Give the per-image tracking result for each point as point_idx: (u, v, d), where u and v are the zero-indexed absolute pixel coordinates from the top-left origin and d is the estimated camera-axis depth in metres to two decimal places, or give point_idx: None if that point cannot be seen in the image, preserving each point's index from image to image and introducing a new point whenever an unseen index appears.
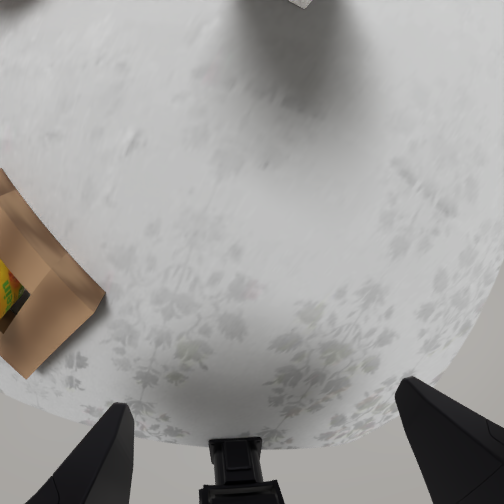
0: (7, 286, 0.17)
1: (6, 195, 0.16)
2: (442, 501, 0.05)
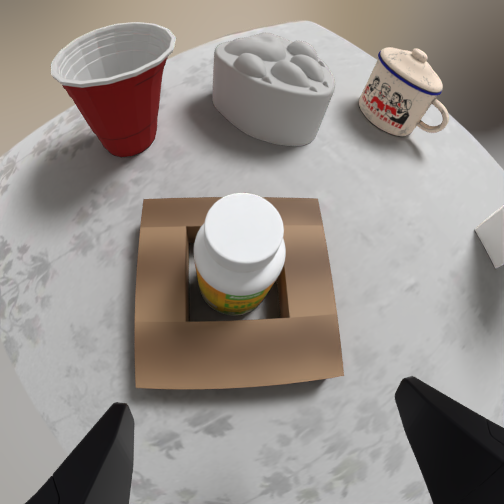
0: None
1: None
2: (442, 501, 0.05)
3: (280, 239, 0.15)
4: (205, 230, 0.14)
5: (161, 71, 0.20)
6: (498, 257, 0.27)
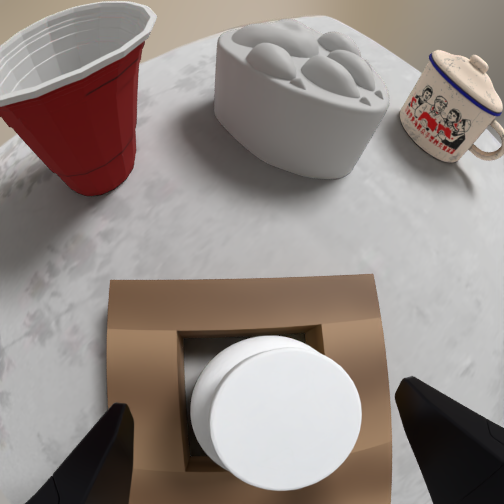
0: None
1: None
2: (442, 501, 0.05)
3: (355, 438, 0.06)
4: (212, 438, 0.06)
5: (133, 69, 0.12)
6: None
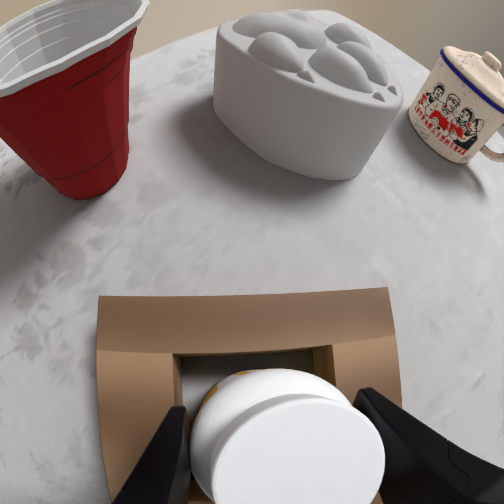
0: None
1: None
2: None
3: (376, 489, 0.05)
4: (215, 500, 0.04)
5: (122, 60, 0.10)
6: None
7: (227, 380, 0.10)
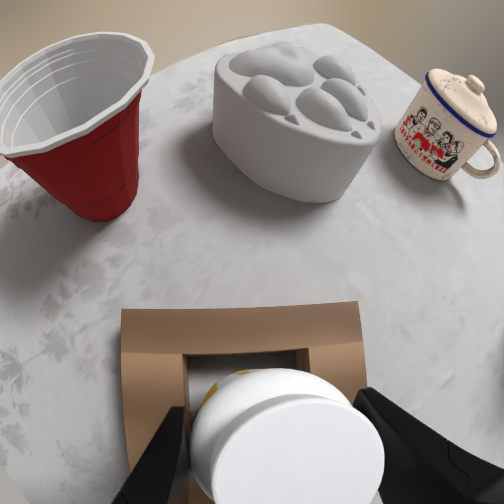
0: None
1: None
2: None
3: (376, 489, 0.05)
4: (215, 499, 0.04)
5: (133, 112, 0.14)
6: None
7: (227, 380, 0.10)
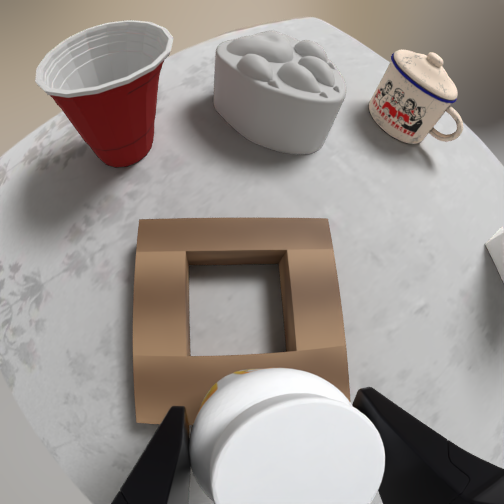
0: None
1: None
2: None
3: (376, 489, 0.05)
4: (215, 499, 0.04)
5: (157, 76, 0.18)
6: None
7: (227, 379, 0.10)
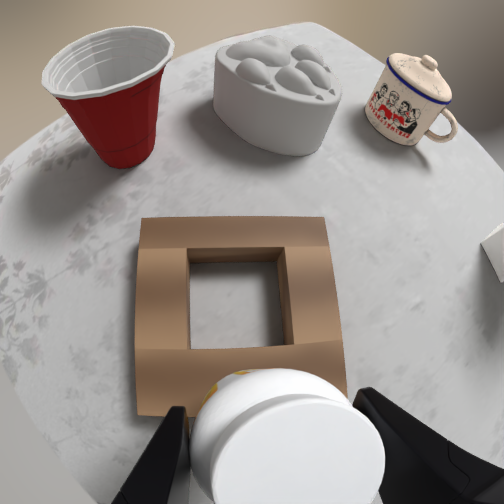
0: None
1: None
2: None
3: (376, 489, 0.05)
4: (215, 500, 0.04)
5: (159, 80, 0.19)
6: (503, 271, 0.26)
7: (227, 380, 0.10)
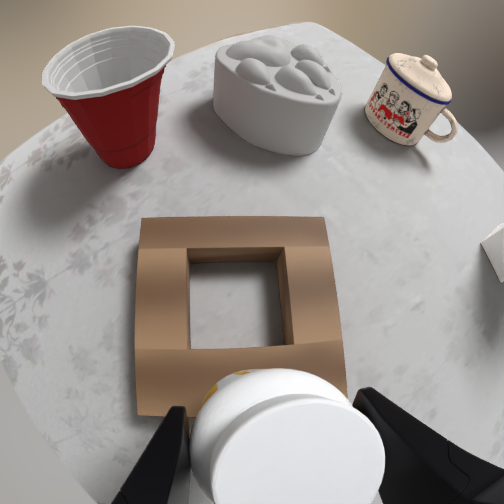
0: None
1: None
2: None
3: (376, 489, 0.05)
4: (215, 500, 0.04)
5: (159, 80, 0.19)
6: (503, 271, 0.26)
7: (227, 380, 0.10)
